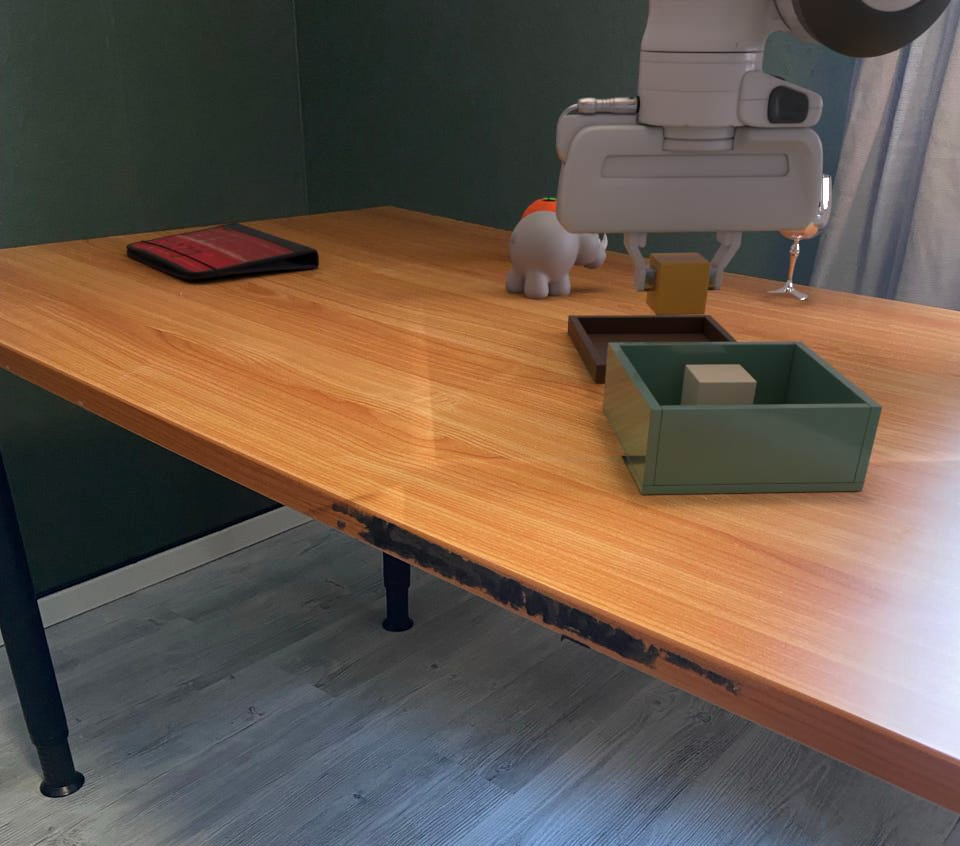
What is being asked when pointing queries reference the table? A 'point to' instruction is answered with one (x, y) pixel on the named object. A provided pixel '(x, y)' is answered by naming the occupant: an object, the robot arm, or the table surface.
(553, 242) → the chubby cartoon animal
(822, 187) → the wineglass
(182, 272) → the binder
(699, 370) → the cream block
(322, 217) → the table surface
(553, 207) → the clementine
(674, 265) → the mustard block
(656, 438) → the green storage bin
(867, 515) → the table surface
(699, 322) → the shallow brown tray
